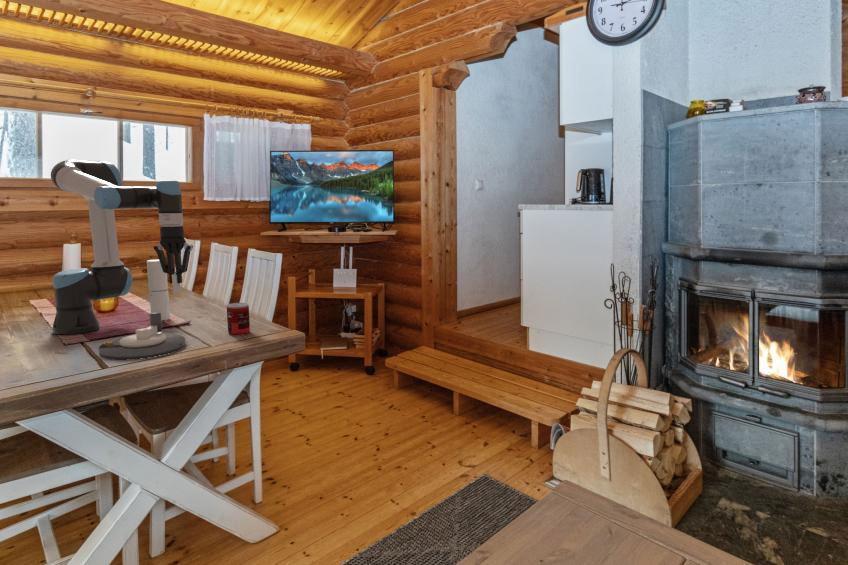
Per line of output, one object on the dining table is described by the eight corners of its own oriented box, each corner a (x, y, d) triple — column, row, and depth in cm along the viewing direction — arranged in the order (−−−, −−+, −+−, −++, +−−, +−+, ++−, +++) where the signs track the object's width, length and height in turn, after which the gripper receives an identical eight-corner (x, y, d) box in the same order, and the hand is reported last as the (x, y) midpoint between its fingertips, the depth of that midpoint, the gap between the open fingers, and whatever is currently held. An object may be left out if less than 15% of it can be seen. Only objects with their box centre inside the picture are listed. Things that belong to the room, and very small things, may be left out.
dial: (154, 347, 174) (152, 324, 173) (111, 347, 174) (108, 324, 172) (178, 332, 193) (177, 312, 191) (139, 333, 192) (137, 312, 191)
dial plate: (82, 360, 168) (81, 353, 167) (125, 338, 193) (124, 332, 193) (165, 359, 169) (165, 352, 168) (197, 338, 194) (196, 331, 194)
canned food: (231, 330, 205) (229, 302, 203) (252, 330, 206) (250, 302, 204) (225, 335, 198) (223, 306, 196) (247, 335, 198) (246, 306, 197)
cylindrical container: (162, 321, 220) (158, 261, 216) (147, 320, 221) (142, 261, 217) (174, 317, 227) (169, 259, 223) (159, 317, 228) (154, 259, 224)
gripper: (147, 226, 181) (153, 294, 184) (186, 226, 181) (191, 294, 185) (157, 225, 188) (163, 291, 192) (194, 225, 189) (199, 290, 192)
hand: (176, 292), depth 188 cm, fingers closed
